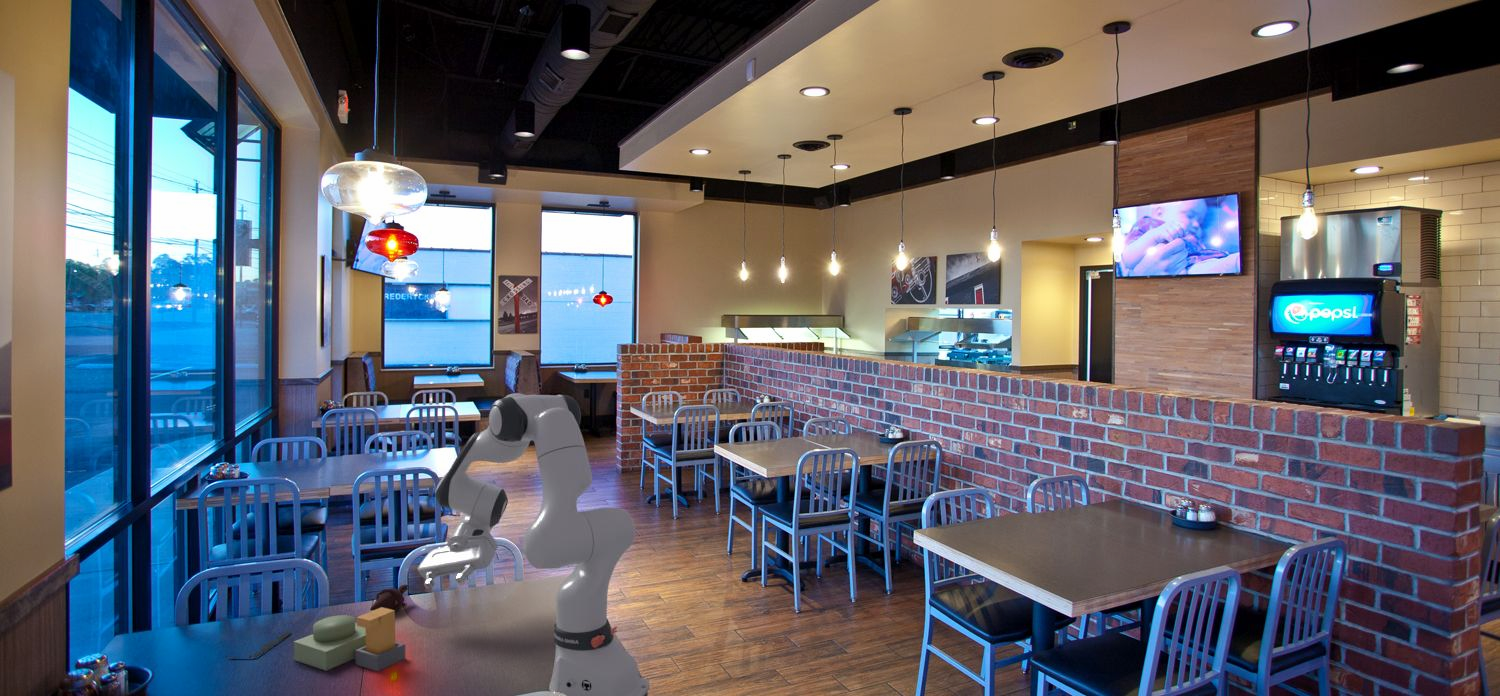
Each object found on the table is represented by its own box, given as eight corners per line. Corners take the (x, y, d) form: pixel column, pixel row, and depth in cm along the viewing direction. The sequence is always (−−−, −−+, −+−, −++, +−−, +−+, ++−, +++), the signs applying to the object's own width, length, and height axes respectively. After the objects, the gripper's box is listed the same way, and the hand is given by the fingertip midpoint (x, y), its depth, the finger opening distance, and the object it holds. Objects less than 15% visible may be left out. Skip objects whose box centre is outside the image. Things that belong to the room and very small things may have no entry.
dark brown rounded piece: (386, 600, 203) (419, 586, 218) (362, 592, 204) (397, 577, 219) (379, 626, 203) (413, 609, 218) (355, 617, 204) (391, 601, 219)
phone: (293, 631, 198) (256, 657, 183) (293, 634, 198) (256, 660, 183) (264, 631, 198) (225, 657, 183) (264, 634, 198) (225, 660, 183)
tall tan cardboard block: (395, 659, 183) (394, 610, 182) (371, 671, 177) (369, 620, 176) (382, 655, 185) (381, 607, 184) (357, 667, 179) (356, 617, 178)
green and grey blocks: (409, 656, 185) (409, 625, 184) (356, 681, 172) (356, 648, 172) (348, 637, 195) (347, 608, 195) (294, 659, 182) (293, 629, 182)
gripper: (426, 541, 206) (402, 581, 194) (492, 529, 201) (471, 569, 189) (438, 557, 209) (415, 598, 197) (503, 545, 204) (483, 586, 192)
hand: (443, 584), depth 193 cm, fingers open, 8 cm apart
